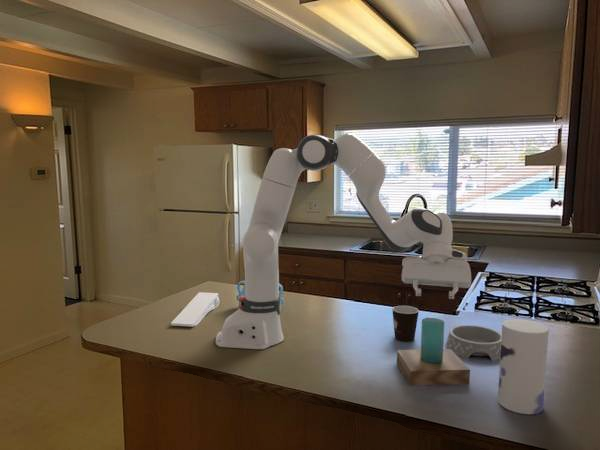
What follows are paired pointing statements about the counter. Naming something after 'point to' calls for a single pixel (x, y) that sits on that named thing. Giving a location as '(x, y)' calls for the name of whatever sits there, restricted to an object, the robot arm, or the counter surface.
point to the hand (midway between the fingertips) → (434, 296)
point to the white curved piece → (196, 309)
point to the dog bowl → (474, 341)
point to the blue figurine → (244, 291)
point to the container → (523, 366)
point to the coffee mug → (405, 322)
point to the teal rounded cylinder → (432, 340)
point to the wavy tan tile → (432, 369)
